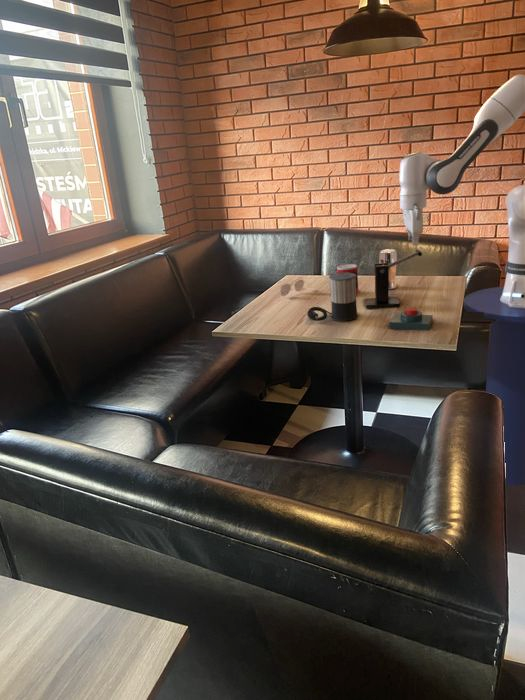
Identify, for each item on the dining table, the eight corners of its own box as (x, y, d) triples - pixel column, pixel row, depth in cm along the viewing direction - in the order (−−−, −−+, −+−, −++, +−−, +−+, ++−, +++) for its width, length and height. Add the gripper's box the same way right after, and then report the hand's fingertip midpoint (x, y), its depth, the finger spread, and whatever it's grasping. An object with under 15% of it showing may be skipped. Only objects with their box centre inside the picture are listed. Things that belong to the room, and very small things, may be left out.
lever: (420, 253, 192) (418, 247, 191) (423, 256, 187) (420, 250, 186) (378, 272, 196) (376, 266, 195) (379, 275, 191) (377, 269, 191)
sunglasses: (304, 289, 227) (304, 278, 224) (317, 295, 221) (318, 284, 219) (278, 297, 219) (279, 285, 217) (292, 303, 213) (292, 291, 211)
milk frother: (363, 316, 185) (362, 274, 180) (328, 327, 178) (325, 284, 173) (337, 309, 197) (335, 269, 192) (302, 319, 189) (299, 278, 184)
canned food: (339, 290, 220) (338, 264, 216) (359, 290, 218) (358, 263, 214) (336, 295, 213) (335, 268, 209) (357, 295, 211) (355, 268, 207)
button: (418, 312, 172) (418, 307, 172) (416, 316, 169) (416, 311, 169) (406, 312, 174) (406, 307, 173) (404, 315, 171) (404, 310, 170)
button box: (432, 321, 174) (432, 309, 173) (428, 330, 167) (428, 318, 165) (395, 319, 179) (395, 308, 178) (389, 328, 172) (389, 316, 170)
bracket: (397, 299, 201) (397, 260, 196) (400, 306, 193) (400, 266, 187) (364, 301, 202) (363, 262, 197) (366, 308, 194) (365, 268, 189)
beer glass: (386, 284, 222) (385, 248, 217) (400, 286, 218) (400, 249, 212) (376, 288, 218) (375, 252, 213) (391, 290, 213) (390, 253, 208)
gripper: (427, 205, 173) (427, 247, 178) (417, 198, 192) (418, 237, 197) (407, 207, 174) (408, 249, 179) (399, 200, 193) (400, 239, 198)
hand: (413, 243), depth 188 cm, fingers open, 8 cm apart
